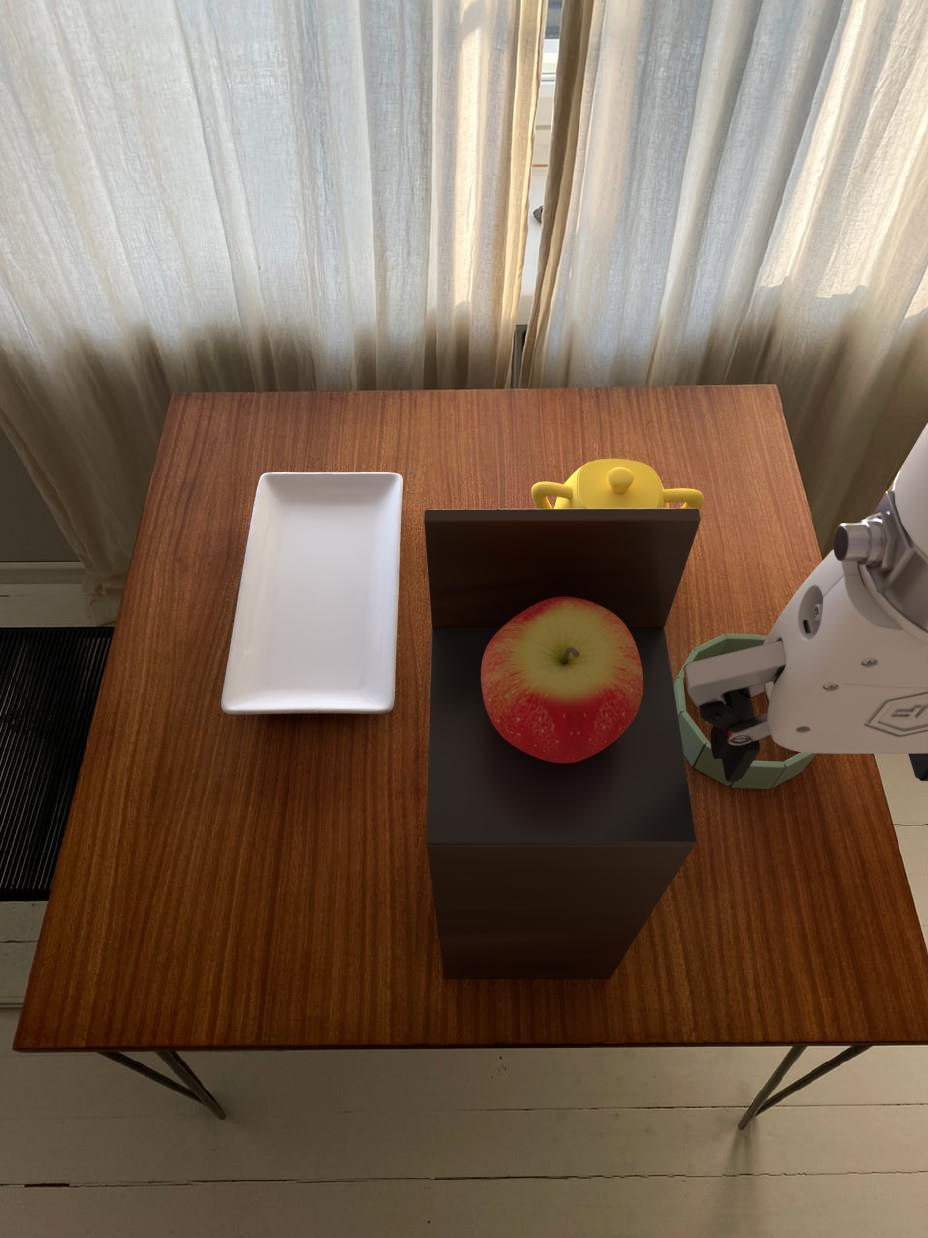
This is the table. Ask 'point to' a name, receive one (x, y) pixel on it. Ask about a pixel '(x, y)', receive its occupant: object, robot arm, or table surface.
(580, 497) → the yellow two-handled pot
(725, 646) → the faceted green band
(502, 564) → the stand
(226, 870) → the table surface
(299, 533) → the tray
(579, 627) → the apple
